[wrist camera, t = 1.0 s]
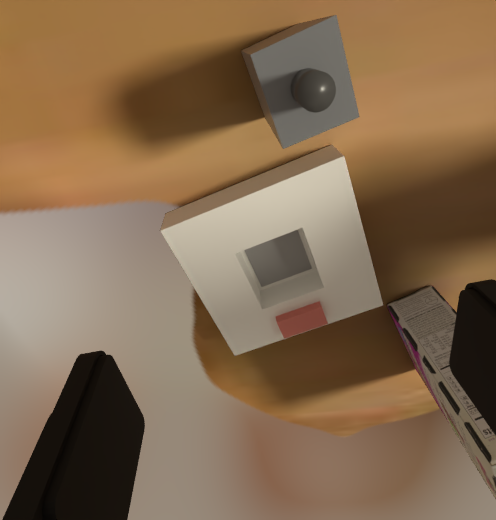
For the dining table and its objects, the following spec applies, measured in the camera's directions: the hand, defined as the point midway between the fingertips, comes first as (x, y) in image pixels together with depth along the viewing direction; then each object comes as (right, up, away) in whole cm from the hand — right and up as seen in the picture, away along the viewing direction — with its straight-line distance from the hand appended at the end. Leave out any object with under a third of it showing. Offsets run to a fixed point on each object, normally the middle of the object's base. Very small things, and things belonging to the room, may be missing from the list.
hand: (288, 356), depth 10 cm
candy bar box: (+17, -4, +28) cm, 33 cm away
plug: (+1, +15, +15) cm, 21 cm away
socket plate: (+1, +3, +22) cm, 22 cm away
